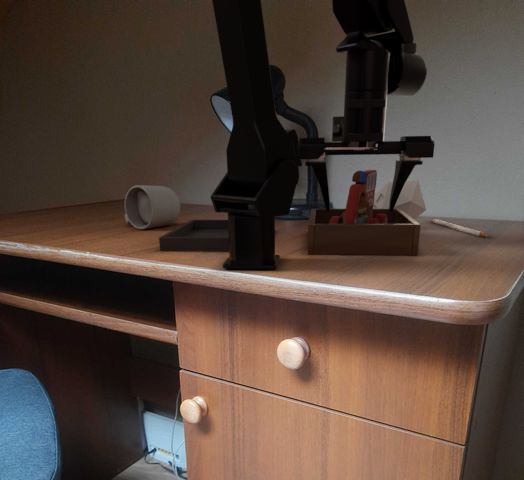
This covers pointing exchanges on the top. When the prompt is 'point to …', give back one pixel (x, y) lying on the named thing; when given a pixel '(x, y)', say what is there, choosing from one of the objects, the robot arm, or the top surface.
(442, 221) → the pencil
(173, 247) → the desk tray
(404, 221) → the toy crate
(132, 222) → the ceramic mug
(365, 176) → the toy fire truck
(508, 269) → the top surface
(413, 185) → the die
